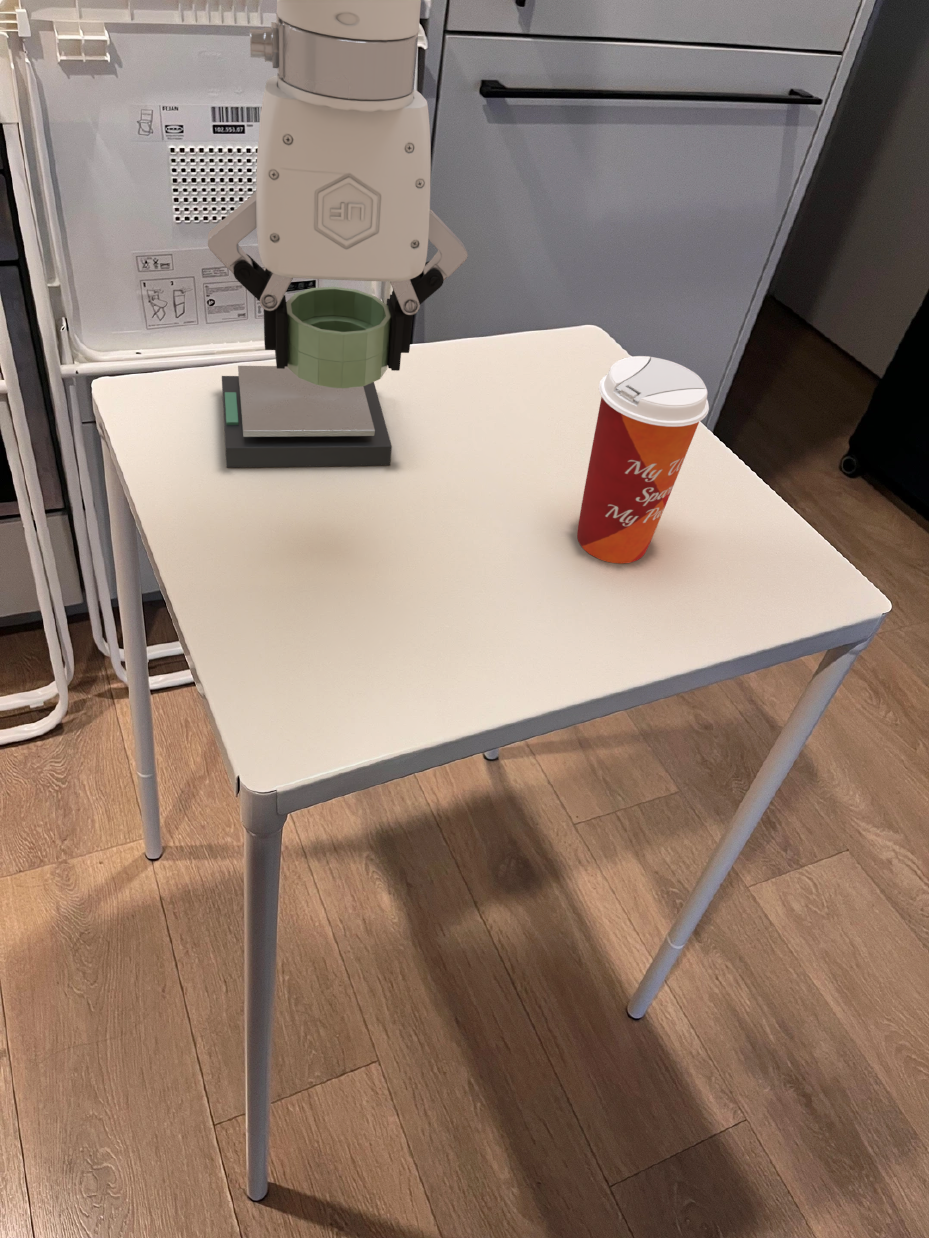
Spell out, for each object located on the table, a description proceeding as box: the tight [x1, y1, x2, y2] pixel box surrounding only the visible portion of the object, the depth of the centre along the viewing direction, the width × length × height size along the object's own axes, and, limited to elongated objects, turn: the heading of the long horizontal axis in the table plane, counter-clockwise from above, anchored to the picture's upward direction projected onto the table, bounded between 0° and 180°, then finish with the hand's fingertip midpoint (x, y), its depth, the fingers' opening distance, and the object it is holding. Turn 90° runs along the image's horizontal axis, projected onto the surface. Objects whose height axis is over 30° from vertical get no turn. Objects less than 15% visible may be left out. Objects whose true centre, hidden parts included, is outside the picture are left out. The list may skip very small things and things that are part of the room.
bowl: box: [286, 286, 391, 389], centre depth 63 cm, size 7×7×4 cm
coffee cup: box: [576, 355, 710, 564], centre depth 74 cm, size 8×8×15 cm
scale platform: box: [237, 365, 375, 437], centre depth 84 cm, size 11×11×1 cm
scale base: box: [221, 375, 393, 469], centre depth 85 cm, size 14×12×2 cm
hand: (336, 358), depth 64 cm, fingers closed on bowl, 6 cm apart
